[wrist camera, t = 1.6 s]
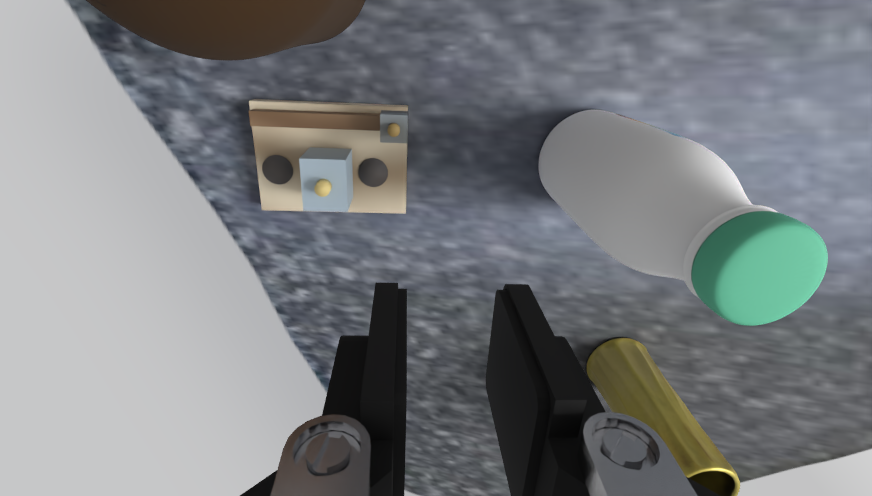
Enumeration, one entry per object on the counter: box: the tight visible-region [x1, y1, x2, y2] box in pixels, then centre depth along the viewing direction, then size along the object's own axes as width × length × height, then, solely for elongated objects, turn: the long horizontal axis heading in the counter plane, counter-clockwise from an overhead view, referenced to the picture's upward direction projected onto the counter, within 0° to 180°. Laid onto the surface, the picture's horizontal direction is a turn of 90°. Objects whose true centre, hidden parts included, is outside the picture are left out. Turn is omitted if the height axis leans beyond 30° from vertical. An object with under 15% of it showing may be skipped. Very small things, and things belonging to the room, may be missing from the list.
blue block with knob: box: [299, 147, 353, 212], centre depth 31 cm, size 4×3×4 cm
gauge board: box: [249, 99, 408, 214], centre depth 32 cm, size 8×11×5 cm
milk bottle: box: [539, 110, 828, 325], centre depth 26 cm, size 8×8×20 cm
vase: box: [587, 338, 740, 496], centre depth 37 cm, size 6×6×14 cm
